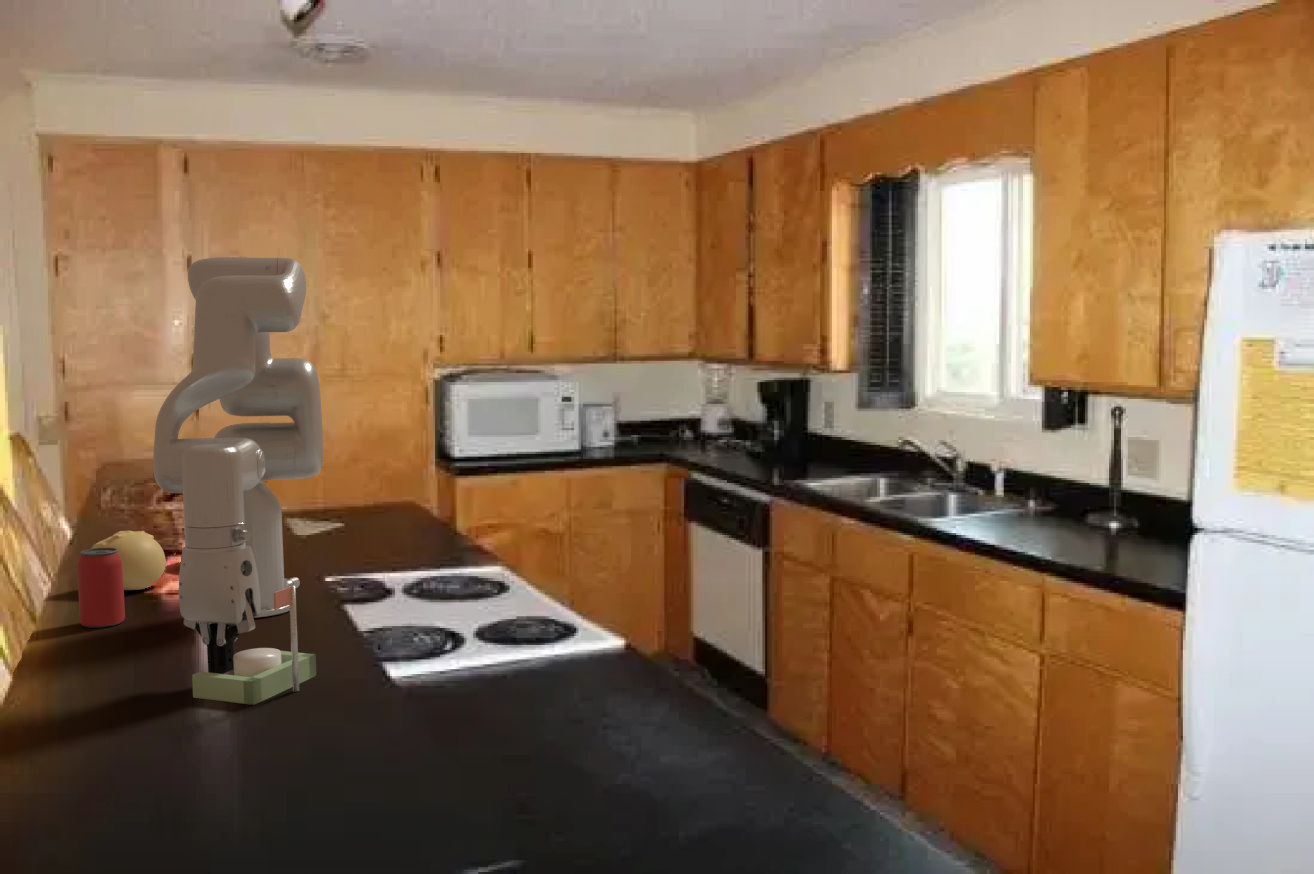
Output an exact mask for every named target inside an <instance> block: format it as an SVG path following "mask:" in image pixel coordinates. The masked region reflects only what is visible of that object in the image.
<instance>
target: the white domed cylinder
mask: <svg viewBox="0 0 1314 874" xmlns="http://www.w3.org/2000/svg"><path fill="white" fill-rule="evenodd" d="M281 651H282V650H280V649H277V648H275V647H274V648H273V647H257V648H249V649H244V650H240V651H239V652H236V653H234V656H233V663H234V669H233V675H235V676H244V677H253V676H255V675H258V674H260V673H262V672H264V671H267V670H269V669H271V668H274V667H276V666H278V665H281Z"/></svg>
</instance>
